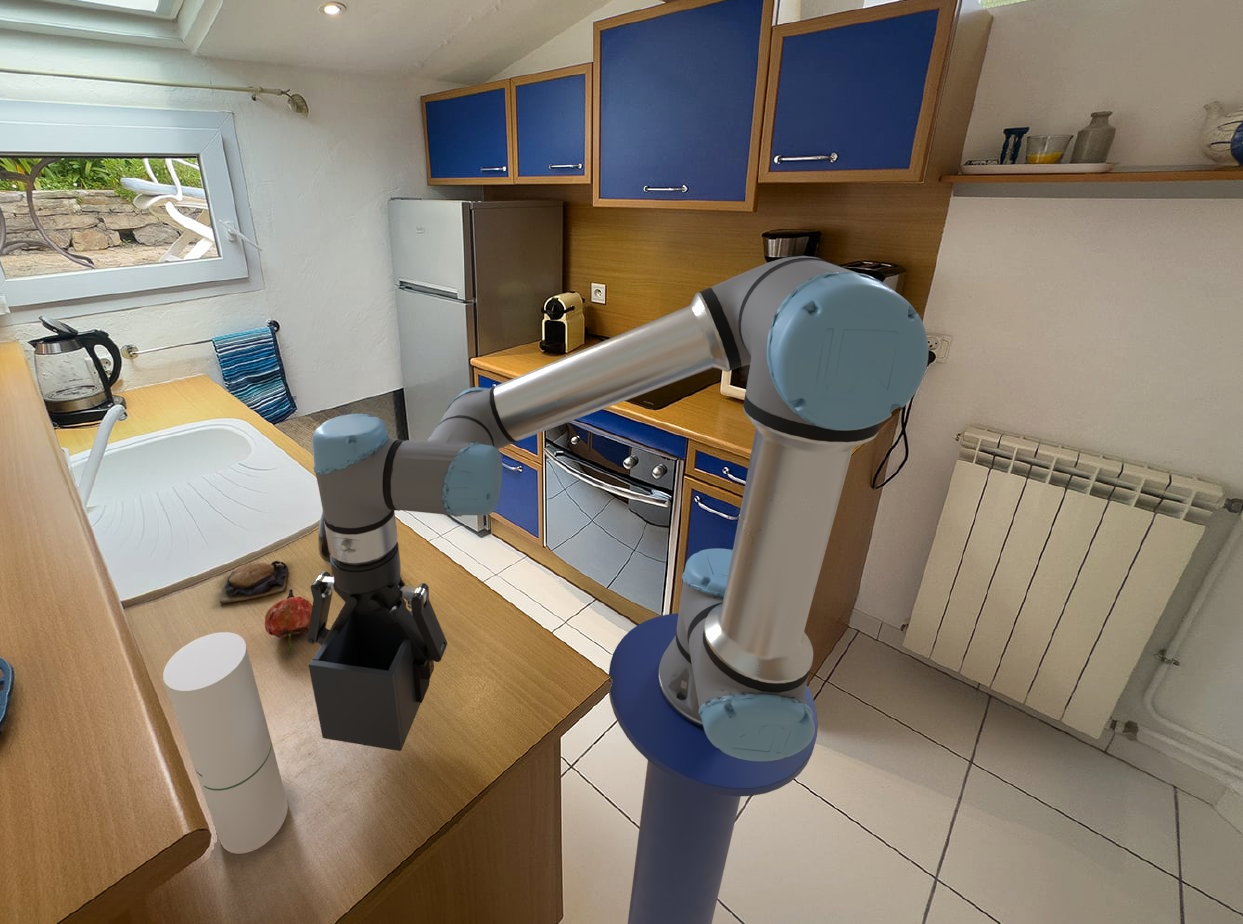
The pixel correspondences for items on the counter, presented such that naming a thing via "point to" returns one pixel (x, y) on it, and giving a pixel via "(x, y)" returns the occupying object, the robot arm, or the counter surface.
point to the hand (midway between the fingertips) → (383, 687)
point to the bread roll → (254, 581)
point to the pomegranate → (288, 617)
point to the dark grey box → (365, 684)
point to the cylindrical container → (228, 739)
